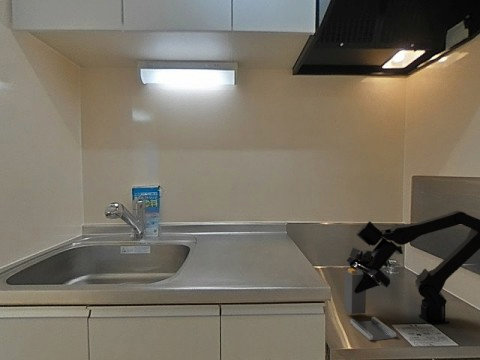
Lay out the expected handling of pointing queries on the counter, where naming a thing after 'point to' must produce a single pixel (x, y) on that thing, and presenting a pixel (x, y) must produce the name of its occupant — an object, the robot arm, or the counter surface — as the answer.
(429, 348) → the counter surface
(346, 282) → the block
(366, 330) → the rail seat
